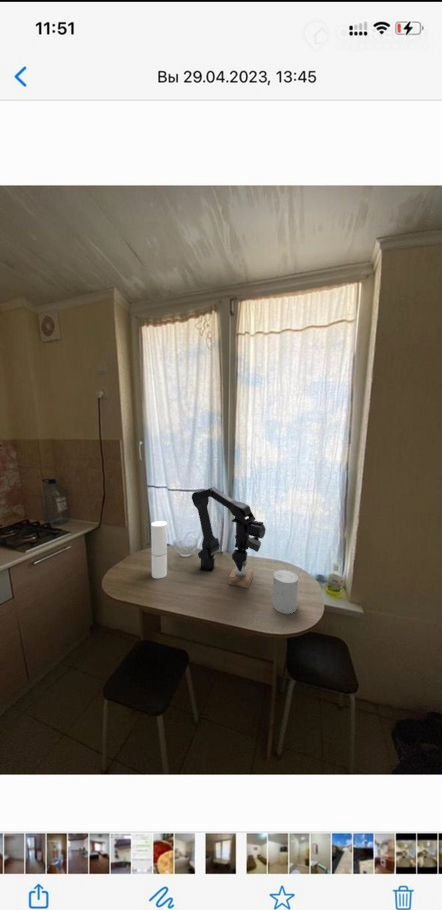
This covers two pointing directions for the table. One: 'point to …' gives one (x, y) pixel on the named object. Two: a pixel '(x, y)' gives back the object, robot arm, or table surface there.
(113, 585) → the table surface
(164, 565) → the cylindrical container
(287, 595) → the white cylinder
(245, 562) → the grey cube
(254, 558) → the table surface
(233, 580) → the tan block
